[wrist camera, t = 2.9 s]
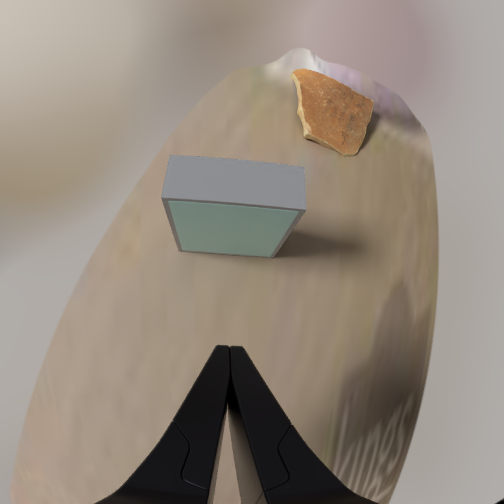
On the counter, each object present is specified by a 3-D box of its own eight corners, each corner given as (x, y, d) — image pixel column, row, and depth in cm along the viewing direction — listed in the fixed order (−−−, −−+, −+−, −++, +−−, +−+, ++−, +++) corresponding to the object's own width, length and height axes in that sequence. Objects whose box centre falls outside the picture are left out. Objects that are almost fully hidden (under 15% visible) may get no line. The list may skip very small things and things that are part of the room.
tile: (273, 258, 23) (306, 210, 15) (178, 251, 22) (161, 197, 14) (273, 226, 23) (304, 167, 15) (182, 219, 23) (169, 154, 15)
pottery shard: (292, 72, 30) (297, 56, 28) (366, 101, 30) (375, 86, 28) (267, 131, 27) (272, 113, 24) (359, 165, 27) (370, 150, 24)
